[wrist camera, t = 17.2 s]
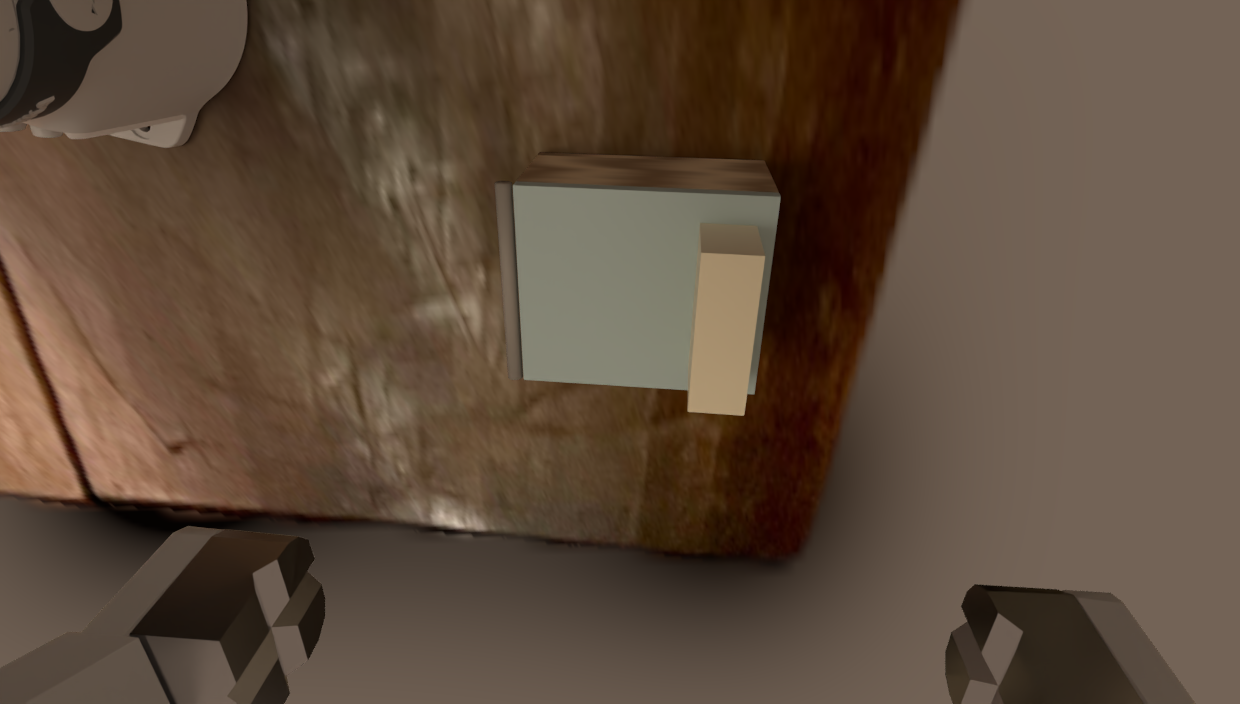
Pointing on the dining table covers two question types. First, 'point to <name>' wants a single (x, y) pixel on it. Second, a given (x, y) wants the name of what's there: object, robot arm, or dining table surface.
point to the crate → (650, 172)
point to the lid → (613, 278)
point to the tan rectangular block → (724, 317)
